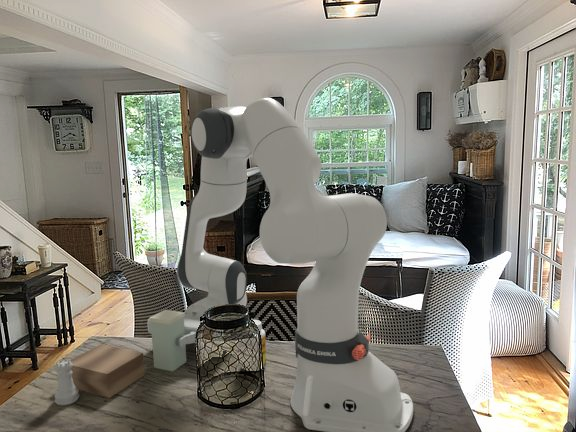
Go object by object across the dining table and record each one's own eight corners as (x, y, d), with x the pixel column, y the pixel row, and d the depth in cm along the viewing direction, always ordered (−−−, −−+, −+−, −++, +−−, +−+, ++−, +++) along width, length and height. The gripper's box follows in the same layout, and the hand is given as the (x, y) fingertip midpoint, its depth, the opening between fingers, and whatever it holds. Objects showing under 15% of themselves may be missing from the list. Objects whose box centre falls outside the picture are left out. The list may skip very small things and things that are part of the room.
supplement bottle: (252, 375, 99) (250, 329, 98) (235, 367, 103) (233, 323, 102) (271, 366, 103) (270, 322, 102) (255, 358, 107) (253, 316, 105)
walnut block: (144, 374, 101) (143, 352, 100) (109, 397, 92) (107, 374, 91) (103, 364, 106) (101, 343, 105) (66, 385, 97) (63, 363, 96)
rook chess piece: (49, 405, 90) (45, 366, 89) (63, 393, 94) (59, 356, 93) (71, 407, 89) (67, 367, 88) (84, 394, 93) (80, 356, 92)
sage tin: (187, 361, 107) (184, 312, 105) (172, 372, 102) (168, 321, 100) (168, 357, 109) (165, 309, 107) (152, 367, 104) (149, 317, 102)
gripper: (168, 301, 120) (129, 320, 108) (237, 311, 111) (203, 333, 99) (170, 325, 121) (131, 346, 109) (238, 337, 112) (204, 361, 100)
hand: (166, 340), depth 104 cm, fingers open, 5 cm apart
